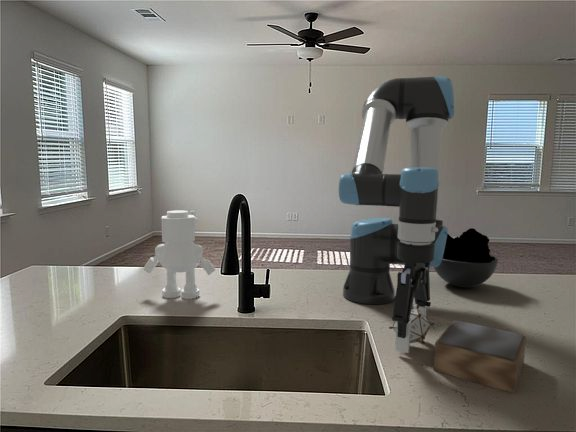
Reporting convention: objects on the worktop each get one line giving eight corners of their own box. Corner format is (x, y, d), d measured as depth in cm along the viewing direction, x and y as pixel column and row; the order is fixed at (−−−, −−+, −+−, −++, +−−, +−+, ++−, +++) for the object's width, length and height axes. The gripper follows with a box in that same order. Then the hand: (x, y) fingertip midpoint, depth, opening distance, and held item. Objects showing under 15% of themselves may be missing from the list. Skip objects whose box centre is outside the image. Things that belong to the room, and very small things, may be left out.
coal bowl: (505, 286, 138) (509, 229, 136) (480, 300, 124) (485, 237, 122) (446, 274, 152) (449, 222, 150) (417, 285, 138) (420, 228, 136)
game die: (417, 361, 92) (437, 339, 85) (381, 345, 93) (398, 321, 86) (423, 329, 98) (442, 305, 91) (388, 314, 99) (405, 289, 92)
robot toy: (221, 291, 130) (220, 210, 127) (210, 303, 119) (209, 215, 115) (152, 288, 132) (150, 208, 129) (135, 300, 121) (132, 213, 118)
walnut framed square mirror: (433, 370, 83) (435, 340, 82) (452, 344, 94) (453, 318, 93) (514, 393, 75) (517, 361, 74) (523, 362, 86) (526, 334, 85)
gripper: (416, 253, 78) (410, 367, 81) (448, 235, 96) (442, 329, 100) (378, 248, 82) (373, 356, 86) (415, 231, 100) (411, 321, 104)
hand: (410, 341), depth 93 cm, fingers closed on game die, 10 cm apart
